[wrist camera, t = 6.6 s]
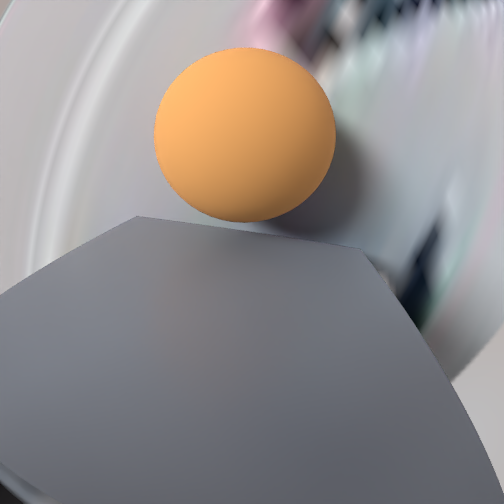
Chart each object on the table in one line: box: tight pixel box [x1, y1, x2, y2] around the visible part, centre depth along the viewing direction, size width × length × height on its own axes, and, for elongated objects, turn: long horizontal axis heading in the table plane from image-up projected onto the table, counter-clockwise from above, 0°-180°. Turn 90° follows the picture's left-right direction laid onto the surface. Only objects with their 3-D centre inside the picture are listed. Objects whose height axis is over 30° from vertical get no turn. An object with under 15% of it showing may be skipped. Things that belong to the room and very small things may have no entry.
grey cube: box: [0, 216, 504, 504], centre depth 7 cm, size 8×8×9 cm
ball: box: [154, 48, 336, 223], centre depth 8 cm, size 5×5×5 cm
